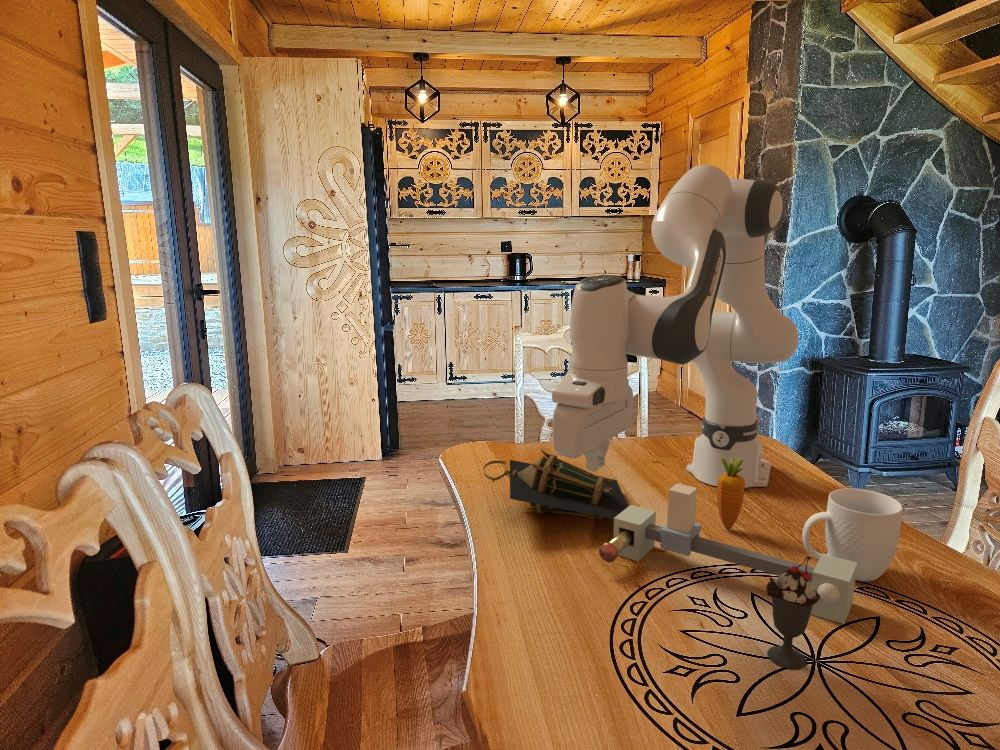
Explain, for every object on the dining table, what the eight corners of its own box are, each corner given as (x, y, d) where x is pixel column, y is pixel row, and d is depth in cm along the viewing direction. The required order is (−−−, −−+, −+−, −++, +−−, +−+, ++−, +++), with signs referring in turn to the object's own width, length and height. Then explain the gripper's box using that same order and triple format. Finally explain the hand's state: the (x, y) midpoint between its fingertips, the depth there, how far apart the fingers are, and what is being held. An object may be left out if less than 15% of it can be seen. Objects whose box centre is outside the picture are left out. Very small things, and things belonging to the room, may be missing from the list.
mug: (811, 586, 109) (819, 513, 106) (788, 554, 120) (795, 486, 117) (906, 590, 108) (917, 515, 105) (875, 557, 118) (883, 488, 115)
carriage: (672, 536, 120) (675, 480, 118) (699, 543, 117) (703, 486, 115) (659, 549, 115) (662, 491, 113) (687, 557, 112) (690, 498, 110)
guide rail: (629, 539, 126) (630, 504, 124) (852, 603, 104) (857, 562, 103) (611, 555, 120) (612, 519, 118) (843, 626, 98) (848, 583, 97)
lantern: (624, 558, 126) (472, 519, 126) (606, 518, 149) (477, 484, 149) (645, 492, 125) (491, 451, 124) (623, 461, 148) (493, 426, 147)
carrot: (708, 527, 130) (713, 455, 127) (727, 522, 133) (732, 451, 129) (728, 537, 126) (733, 463, 123) (746, 532, 128) (752, 458, 125)
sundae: (819, 655, 92) (830, 556, 88) (803, 680, 87) (814, 576, 83) (771, 636, 96) (780, 541, 93) (753, 659, 91) (761, 559, 88)
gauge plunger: (623, 537, 121) (624, 521, 121) (640, 542, 120) (640, 525, 119) (598, 559, 114) (599, 542, 113) (615, 564, 112) (616, 547, 111)
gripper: (610, 368, 112) (607, 446, 115) (545, 393, 96) (544, 483, 99) (645, 373, 108) (641, 453, 111) (584, 400, 92) (582, 493, 95)
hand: (595, 468), depth 105 cm, fingers closed
